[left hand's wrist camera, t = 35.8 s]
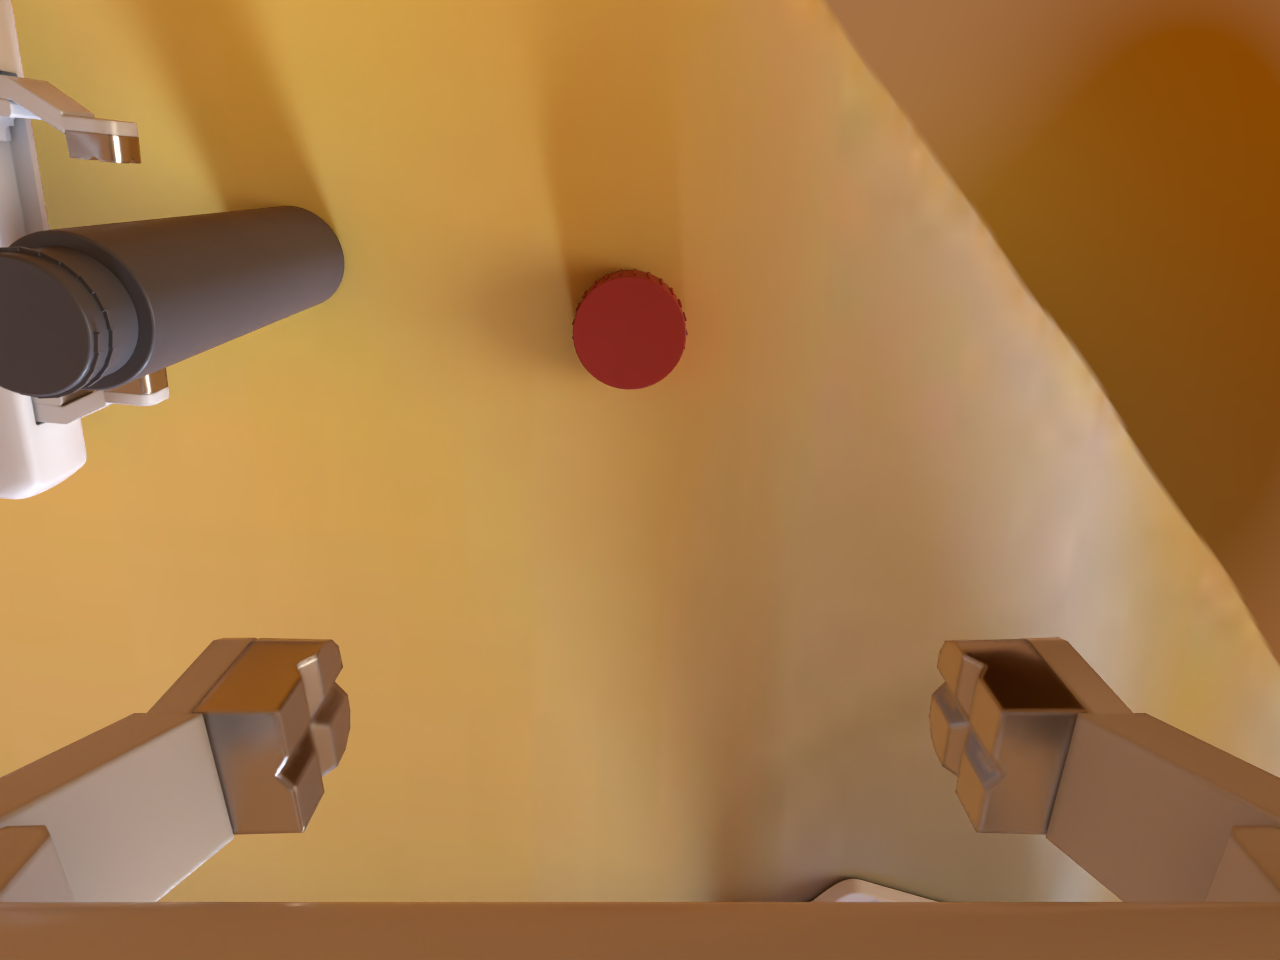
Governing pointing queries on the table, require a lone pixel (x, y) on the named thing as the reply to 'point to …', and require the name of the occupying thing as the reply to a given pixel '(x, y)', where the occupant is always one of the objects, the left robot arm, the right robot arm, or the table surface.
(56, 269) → the jar
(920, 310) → the table surface
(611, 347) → the lid
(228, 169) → the table surface
